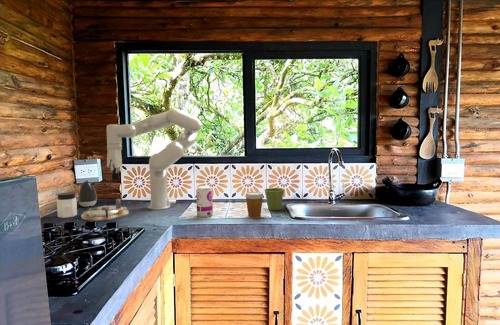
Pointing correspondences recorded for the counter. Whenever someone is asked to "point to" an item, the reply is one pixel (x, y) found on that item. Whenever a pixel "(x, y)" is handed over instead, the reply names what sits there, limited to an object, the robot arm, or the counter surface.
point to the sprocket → (101, 210)
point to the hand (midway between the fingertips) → (115, 179)
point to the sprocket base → (100, 218)
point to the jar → (66, 205)
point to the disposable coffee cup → (254, 203)
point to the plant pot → (274, 198)
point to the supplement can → (204, 201)
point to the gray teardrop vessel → (87, 194)
